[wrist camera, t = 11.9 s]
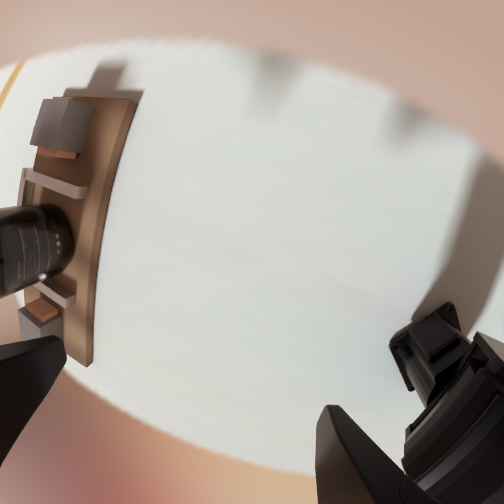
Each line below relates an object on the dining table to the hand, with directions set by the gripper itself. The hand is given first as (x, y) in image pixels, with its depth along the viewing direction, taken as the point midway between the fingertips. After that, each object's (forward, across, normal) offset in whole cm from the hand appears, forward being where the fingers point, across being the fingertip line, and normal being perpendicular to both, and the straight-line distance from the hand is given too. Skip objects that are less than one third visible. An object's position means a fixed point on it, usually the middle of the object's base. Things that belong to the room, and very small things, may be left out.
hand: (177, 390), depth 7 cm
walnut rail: (+14, +18, 0) cm, 22 cm away
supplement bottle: (+13, +18, 0) cm, 22 cm away
